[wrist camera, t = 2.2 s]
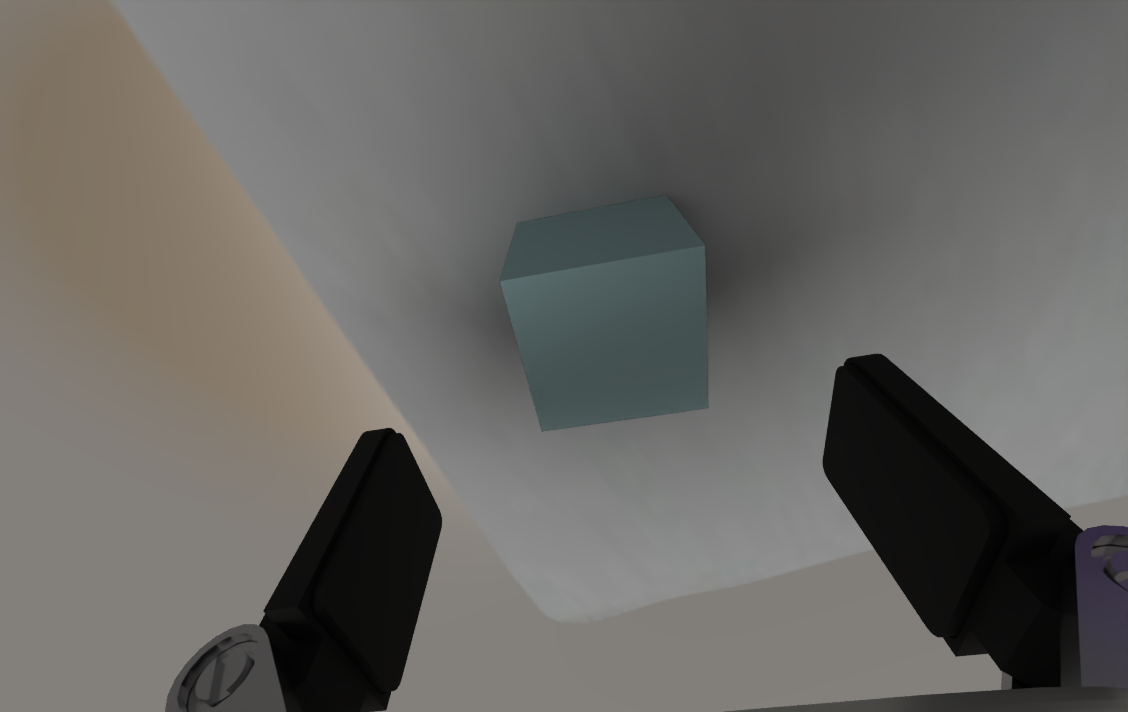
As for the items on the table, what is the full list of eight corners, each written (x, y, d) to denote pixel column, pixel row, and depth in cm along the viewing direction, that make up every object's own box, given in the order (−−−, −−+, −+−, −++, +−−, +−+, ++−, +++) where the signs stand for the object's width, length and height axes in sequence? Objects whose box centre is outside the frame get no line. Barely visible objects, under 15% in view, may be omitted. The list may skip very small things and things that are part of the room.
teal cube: (665, 194, 15) (705, 245, 11) (674, 325, 18) (708, 408, 13) (517, 221, 15) (499, 281, 11) (547, 345, 18) (541, 431, 14)
